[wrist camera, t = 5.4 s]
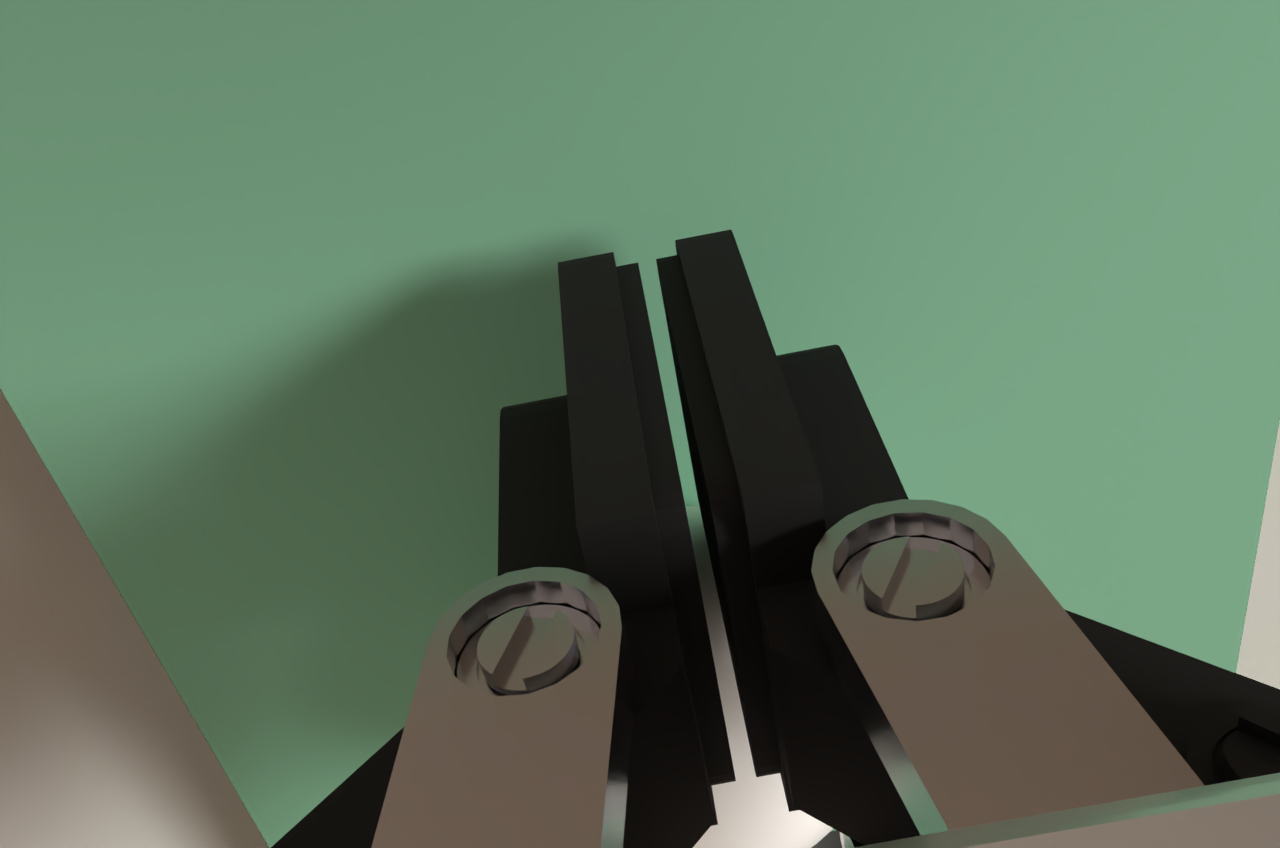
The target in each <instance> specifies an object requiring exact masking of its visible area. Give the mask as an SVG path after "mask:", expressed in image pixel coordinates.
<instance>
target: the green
mask: <svg viewBox="0 0 1280 848" xmlns="http://www.w3.org/2000/svg"><path fill="white" fill-rule="evenodd" d="M725 230H732V232H733V235H734V237H735V240H736V243H737V246H738V249H739V252H740V254H741V257H742V260H743V263H744V266H745V268H746V271H747V274H748V277H749V280H750V283H751V285H752V288H753V291H754V294H755V297H756V299H757V302H758V305H759V308H760V311H761V314H762V316H763V319H764V322H765V325H766V328H767V330H768V333H769V336H770V339H771V342H772V345H773V347H774V350H775V353H776V355H782V354H787V353H792V352H798V351H803V350H808V349H814V348H819V347H824V346H830V345H835V344H836V345H838V346H840V348H841V350H842V351H843V353H844V355H845V357H846V360H847V362H848V364H849V366H850V369H851V371H852V373H853V375H854V378H855V380H856V382H857V384H858V386H859V389H860V391H861V393H862V395H863V398H864V400H865V402H866V404H867V407H868V409H869V411H870V413H871V416H872V418H873V420H874V422H875V425H876V427H877V429H878V431H879V434H880V436H881V438H882V440H883V443H884V445H885V447H886V449H887V452H888V454H889V456H890V458H891V460H892V463H893V465H894V467H895V469H896V472H897V474H898V476H899V478H900V481H901V483H902V485H903V487H904V490H905V492H906V494H907V496H908V499H910V500H934V501H939V502H943V503H948V504H952V505H957V506H961V507H963V508H965V509H967V510H969V511H971V512H973V513H976V514H978V515H980V516H982V517H984V518H986V519H987V520H988V521H990V522H991V523H992V524H993V525H994V526H995V527H996V528H997V529H999V530H1000V531H1001V532H1002V533H1003V534H1004V535H1005V536H1006V537H1007V538H1008V539H1009V541H1010V542H1011V543H1012V544H1013V546H1014V547H1015V548H1016V549H1017V551H1018V552H1019V553H1020V555H1021V556H1022V557H1023V558H1024V560H1025V561H1026V562H1027V563H1028V565H1029V566H1030V567H1031V568H1032V570H1033V571H1034V572H1035V573H1036V575H1037V576H1038V577H1039V578H1040V580H1041V581H1042V582H1043V583H1044V585H1045V586H1046V587H1047V588H1048V590H1049V591H1050V592H1051V593H1052V595H1053V596H1054V597H1055V598H1056V600H1057V601H1058V602H1059V603H1060V605H1061V606H1062V607H1063V608H1064V609H1065V610H1067V611H1070V612H1073V613H1076V614H1078V615H1081V616H1084V617H1086V618H1089V619H1092V620H1094V621H1097V622H1100V623H1102V624H1105V625H1108V626H1110V627H1113V628H1116V629H1118V630H1121V631H1124V632H1126V633H1129V634H1132V635H1135V636H1137V637H1140V638H1143V639H1145V640H1148V641H1151V642H1153V643H1156V644H1159V645H1161V646H1164V647H1167V648H1169V649H1172V650H1175V651H1177V652H1180V653H1183V654H1185V655H1188V656H1191V657H1193V658H1196V659H1199V660H1202V661H1204V662H1207V663H1210V664H1212V665H1215V666H1218V667H1220V668H1223V669H1226V670H1228V671H1231V672H1234V673H1236V668H1237V662H1238V657H1239V651H1240V645H1241V639H1242V634H1243V628H1244V622H1245V616H1246V611H1247V605H1248V599H1249V593H1250V587H1251V582H1252V576H1253V570H1254V564H1255V559H1256V553H1257V547H1258V541H1259V536H1260V530H1261V524H1262V518H1263V513H1264V507H1265V501H1266V495H1267V489H1268V484H1269V478H1270V472H1271V466H1272V461H1273V455H1274V449H1275V443H1276V438H1277V432H1278V426H1279V420H1280V0H0V389H1V391H2V393H3V394H4V396H5V398H6V399H7V401H8V403H9V405H10V406H11V408H12V410H13V411H14V413H15V415H16V416H17V418H18V420H19V422H20V423H21V425H22V427H23V428H24V430H25V432H26V434H27V435H28V437H29V439H30V440H31V442H32V444H33V446H34V447H35V449H36V451H37V452H38V454H39V456H40V457H41V459H42V461H43V463H44V464H45V466H46V468H47V469H48V471H49V473H50V475H51V476H52V478H53V480H54V481H55V483H56V485H57V486H58V488H59V490H60V492H61V493H62V495H63V497H64V498H65V500H66V502H67V504H68V505H69V507H70V509H71V510H72V512H73V514H74V515H75V517H76V519H77V521H78V522H79V524H80V526H81V527H82V529H83V531H84V533H85V534H86V536H87V538H88V539H89V541H90V543H91V544H92V546H93V548H94V550H95V551H96V553H97V555H98V556H99V558H100V560H101V562H102V563H103V565H104V567H105V568H106V570H107V572H108V573H109V575H110V577H111V579H112V580H113V582H114V584H115V585H116V587H117V589H118V591H119V592H120V594H121V596H122V597H123V599H124V601H125V602H126V604H127V606H128V608H129V609H130V611H131V613H132V614H133V616H134V618H135V620H136V621H137V623H138V625H139V626H140V628H141V630H142V631H143V633H144V635H145V637H146V638H147V640H148V642H149V643H150V645H151V647H152V649H153V650H154V652H155V654H156V655H157V657H158V659H159V660H160V662H161V664H162V666H163V667H164V669H165V671H166V672H167V674H168V676H169V678H170V679H171V681H172V683H173V684H174V686H175V688H176V689H177V691H178V693H179V695H180V696H181V698H182V700H183V701H184V703H185V705H186V707H187V708H188V710H189V712H190V713H191V715H192V717H193V719H194V720H195V722H196V724H197V725H198V727H199V729H200V730H201V732H202V734H203V736H204V737H205V739H206V741H207V742H208V744H209V746H210V748H211V749H212V751H213V753H214V754H215V756H216V758H217V759H218V761H219V763H220V765H221V766H222V768H223V770H224V771H225V773H226V775H227V777H228V778H229V780H230V782H231V783H232V785H233V787H234V788H235V790H236V792H237V794H238V795H239V797H240V799H241V800H242V802H243V804H244V806H245V807H246V809H247V811H248V812H249V814H250V816H251V817H252V819H253V821H254V823H255V824H256V826H257V828H258V829H259V831H260V833H261V835H262V836H263V838H264V840H265V841H266V843H267V845H268V846H269V848H271V847H272V846H273V845H274V844H275V843H276V842H277V841H279V840H280V839H281V838H282V837H283V836H284V835H285V834H286V833H287V832H289V831H290V830H291V829H292V828H293V827H294V826H295V825H296V824H297V823H298V822H300V821H301V820H302V819H303V818H304V817H305V816H306V815H307V814H308V813H309V812H311V811H312V810H313V809H314V808H315V807H316V806H317V805H318V804H319V803H321V802H322V801H323V800H324V799H325V798H326V797H327V796H328V795H329V794H330V793H332V792H333V791H334V790H335V789H336V788H337V787H338V786H339V785H340V784H341V783H343V782H344V781H345V780H346V779H347V778H348V777H349V776H350V775H351V774H353V773H354V772H355V771H356V770H357V769H358V768H359V767H360V766H361V765H362V764H364V763H365V762H366V761H367V760H368V759H369V758H370V757H371V756H372V755H373V754H375V753H376V752H377V751H378V750H379V749H380V748H381V747H382V746H383V745H385V744H386V743H387V742H388V741H389V740H390V739H391V738H392V737H393V736H394V735H396V734H397V733H398V732H399V731H400V730H401V729H402V728H403V727H404V726H405V723H406V720H407V716H408V712H409V709H410V705H411V701H412V698H413V694H414V690H415V687H416V683H417V680H418V676H419V672H420V669H421V665H422V661H423V658H424V654H425V650H426V647H427V643H428V641H429V639H430V637H431V634H432V632H433V630H434V628H435V626H436V624H437V622H438V620H439V619H440V618H441V617H442V616H443V614H444V613H445V612H446V611H447V610H448V609H449V608H450V607H451V606H452V604H453V603H454V602H455V601H456V600H457V599H459V598H460V597H462V596H463V595H465V594H466V593H467V592H469V591H470V590H472V589H473V588H475V587H476V586H478V585H479V584H481V583H483V582H486V581H488V580H491V579H493V578H495V577H498V513H499V438H500V412H501V409H502V408H503V407H506V406H511V405H516V404H522V403H527V402H532V401H538V400H543V399H548V398H553V397H559V396H564V395H567V389H566V375H565V361H564V347H563V333H562V319H561V305H560V291H559V277H558V262H563V261H568V260H573V259H579V258H584V257H589V256H594V255H600V254H605V253H610V252H613V253H614V257H615V262H616V267H617V266H622V265H627V264H633V263H638V265H639V270H640V275H641V280H642V285H643V291H644V296H645V301H646V306H647V311H648V316H649V321H650V327H651V332H652V337H653V342H654V347H655V352H656V357H657V363H658V368H659V373H660V378H661V383H662V388H663V393H664V399H665V404H666V409H667V414H668V419H669V424H670V430H671V435H672V440H673V445H674V450H675V455H676V460H677V466H678V471H679V476H680V481H681V486H682V491H683V497H684V502H685V506H699V502H698V497H697V491H696V486H695V480H694V475H693V469H692V463H691V458H690V452H689V446H688V441H687V435H686V429H685V423H684V418H683V412H682V406H681V401H680V395H679V389H678V383H677V378H676V372H675V366H674V361H673V355H672V349H671V344H670V338H669V332H668V326H667V321H666V315H665V309H664V304H663V298H662V292H661V286H660V281H659V275H658V269H657V263H656V259H659V258H664V257H669V256H675V255H677V253H676V245H675V240H678V239H683V238H689V237H694V236H699V235H704V234H710V233H715V232H720V231H725ZM811 848H842V844H841V840H840V832H839V831H837V830H835V829H832V830H831V831H830V832H829V833H828V834H827V835H826V836H825V837H824V838H823V839H822V840H820V841H819V842H818V843H817V844H816V845H814V846H813V847H811Z"/></svg>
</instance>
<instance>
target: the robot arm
mask: <svg viewBox="0 0 1280 848" xmlns="http://www.w3.org/2000/svg"><path fill="white" fill-rule="evenodd" d="M675 245H676V253H677V255H675V256H669V257H664V258H659V259H656V263H657V269H658V275H659V281H660V286H661V292H662V298H663V304H664V309H665V315H666V321H667V326H668V332H669V338H670V344H671V349H672V355H673V361H674V366H675V372H676V378H677V383H678V389H679V395H680V401H681V406H682V412H683V418H684V423H685V429H686V435H687V441H688V446H689V452H690V458H691V463H692V469H693V475H694V480H695V486H696V491H697V497H698V502H699V507H700V512H701V517H702V522H703V526H704V531H705V536H706V541H707V545H708V550H709V555H710V560H711V564H712V569H713V574H714V579H715V584H716V588H717V593H718V598H719V603H720V607H721V612H722V617H723V622H724V626H725V631H726V636H727V641H728V646H729V650H730V655H731V660H732V665H733V669H734V674H735V679H736V684H737V688H738V693H739V698H740V703H741V708H742V712H743V717H744V722H745V727H746V731H747V736H748V741H749V746H750V750H751V755H752V760H753V765H754V769H755V774H756V777H761V776H767V775H772V774H778V773H780V775H781V779H782V783H783V788H784V792H785V796H786V801H787V805H788V809H789V812H791V811H796V810H801V811H803V812H804V813H806V814H808V815H810V816H812V817H814V818H815V819H817V820H819V821H821V822H823V823H824V824H826V825H828V826H830V827H832V828H833V829H835V830H837V831H839V832H840V840H841V844H842V848H1280V690H1279V689H1277V688H1274V687H1271V686H1269V685H1266V684H1263V683H1261V682H1258V681H1255V680H1252V679H1250V678H1247V677H1244V676H1242V675H1239V674H1236V673H1234V672H1231V671H1228V670H1226V669H1223V668H1220V667H1218V666H1215V665H1212V664H1210V663H1207V662H1204V661H1202V660H1199V659H1196V658H1193V657H1191V656H1188V655H1185V654H1183V653H1180V652H1177V651H1175V650H1172V649H1169V648H1167V647H1164V646H1161V645H1159V644H1156V643H1153V642H1151V641H1148V640H1145V639H1143V638H1140V637H1137V636H1135V635H1132V634H1129V633H1126V632H1124V631H1121V630H1118V629H1116V628H1113V627H1110V626H1108V625H1105V624H1102V623H1100V622H1097V621H1094V620H1092V619H1089V618H1086V617H1084V616H1081V615H1078V614H1076V613H1073V612H1070V611H1067V610H1065V609H1064V608H1063V607H1062V606H1061V605H1060V603H1059V602H1058V601H1057V600H1056V598H1055V597H1054V596H1053V595H1052V593H1051V592H1050V591H1049V590H1048V588H1047V587H1046V586H1045V585H1044V583H1043V582H1042V581H1041V580H1040V578H1039V577H1038V576H1037V575H1036V573H1035V572H1034V571H1033V570H1032V568H1031V567H1030V566H1029V565H1028V563H1027V562H1026V561H1025V560H1024V558H1023V557H1022V556H1021V555H1020V553H1019V552H1018V551H1017V549H1016V548H1015V547H1014V546H1013V544H1012V543H1011V542H1010V541H1009V539H1008V538H1007V537H1006V536H1005V535H1004V534H1003V533H1002V532H1001V531H1000V530H999V529H997V528H996V527H995V526H994V525H993V524H992V523H991V522H990V521H988V520H987V519H986V518H984V517H982V516H980V515H978V514H976V513H973V512H971V511H969V510H967V509H965V508H963V507H961V506H957V505H952V504H948V503H943V502H939V501H934V500H910V499H908V496H907V494H906V492H905V490H904V487H903V485H902V483H901V481H900V478H899V476H898V474H897V472H896V469H895V467H894V465H893V463H892V460H891V458H890V456H889V454H888V452H887V449H886V447H885V445H884V443H883V440H882V438H881V436H880V434H879V431H878V429H877V427H876V425H875V422H874V420H873V418H872V416H871V413H870V411H869V409H868V407H867V404H866V402H865V400H864V398H863V395H862V393H861V391H860V389H859V386H858V384H857V382H856V380H855V378H854V375H853V373H852V371H851V369H850V366H849V364H848V362H847V360H846V357H845V355H844V353H843V351H842V350H841V348H840V346H838V345H836V344H835V345H830V346H824V347H819V348H814V349H808V350H803V351H798V352H792V353H787V354H782V355H776V353H775V350H774V347H773V345H772V342H771V339H770V336H769V333H768V330H767V328H766V325H765V322H764V319H763V316H762V314H761V311H760V308H759V305H758V302H757V299H756V297H755V294H754V291H753V288H752V285H751V283H750V280H749V277H748V274H747V271H746V268H745V266H744V263H743V260H742V257H741V254H740V252H739V249H738V246H737V243H736V240H735V237H734V235H733V232H732V230H725V231H720V232H715V233H710V234H704V235H699V236H694V237H689V238H683V239H678V240H675ZM558 277H559V291H560V305H561V319H562V333H563V347H564V361H565V375H566V389H567V395H564V396H559V397H553V398H548V399H543V400H538V401H532V402H527V403H522V404H516V405H511V406H506V407H503V408H502V409H501V412H500V438H499V513H498V577H495V578H493V579H491V580H488V581H486V582H483V583H481V584H479V585H478V586H476V587H475V588H473V589H472V590H470V591H469V592H467V593H466V594H465V595H463V596H462V597H460V598H459V599H457V600H456V601H455V602H454V603H453V604H452V606H451V607H450V608H449V609H448V610H447V611H446V612H445V613H444V614H443V616H442V617H441V618H440V619H439V620H438V622H437V624H436V626H435V628H434V630H433V632H432V634H431V637H430V639H429V641H428V643H427V647H426V650H425V654H424V658H423V661H422V665H421V669H420V672H419V676H418V680H417V683H416V687H415V690H414V694H413V698H412V701H411V705H410V709H409V712H408V716H407V720H406V723H405V726H404V727H403V728H402V729H401V730H400V731H399V732H398V733H397V734H396V735H394V736H393V737H392V738H391V739H390V740H389V741H388V742H387V743H386V744H385V745H383V746H382V747H381V748H380V749H379V750H378V751H377V752H376V753H375V754H373V755H372V756H371V757H370V758H369V759H368V760H367V761H366V762H365V763H364V764H362V765H361V766H360V767H359V768H358V769H357V770H356V771H355V772H354V773H353V774H351V775H350V776H349V777H348V778H347V779H346V780H345V781H344V782H343V783H341V784H340V785H339V786H338V787H337V788H336V789H335V790H334V791H333V792H332V793H330V794H329V795H328V796H327V797H326V798H325V799H324V800H323V801H322V802H321V803H319V804H318V805H317V806H316V807H315V808H314V809H313V810H312V811H311V812H309V813H308V814H307V815H306V816H305V817H304V818H303V819H302V820H301V821H300V822H298V823H297V824H296V825H295V826H294V827H293V828H292V829H291V830H290V831H289V832H287V833H286V834H285V835H284V836H283V837H282V838H281V839H280V840H279V841H277V842H276V843H275V844H274V845H273V846H272V847H271V848H693V847H694V846H695V844H696V843H697V842H698V841H699V840H700V838H701V837H702V836H703V835H704V834H705V832H706V831H707V830H708V829H709V828H710V826H713V825H718V821H717V815H716V809H715V804H714V798H713V792H712V785H717V784H723V783H728V782H734V781H736V779H735V773H734V768H733V762H732V757H731V751H730V746H729V740H728V735H727V730H726V724H725V719H724V713H723V708H722V702H721V697H720V691H719V686H718V681H717V675H716V670H715V664H714V659H713V653H712V648H711V643H710V637H709V632H708V626H707V621H706V615H705V610H704V604H703V599H702V594H701V588H700V583H699V577H698V572H697V566H696V561H695V555H694V550H693V545H692V539H691V534H690V528H689V523H688V518H687V512H686V507H685V502H684V497H683V491H682V486H681V481H680V476H679V471H678V466H677V460H676V455H675V450H674V445H673V440H672V435H671V430H670V424H669V419H668V414H667V409H666V404H665V399H664V393H663V388H662V383H661V378H660V373H659V368H658V363H657V357H656V352H655V347H654V342H653V337H652V332H651V327H650V321H649V316H648V311H647V306H646V301H645V296H644V291H643V285H642V280H641V275H640V270H639V265H638V263H633V264H627V265H622V266H617V267H616V262H615V257H614V253H613V252H610V253H605V254H600V255H594V256H589V257H584V258H579V259H573V260H568V261H563V262H558Z"/></svg>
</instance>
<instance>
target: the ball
mask: <svg viewBox="0 0 1280 848" xmlns="http://www.w3.org/2000/svg"><path fill="white" fill-rule="evenodd" d="M685 507H686V512H687V518H688V523H689V528H690V534H691V539H692V545H693V550H694V555H695V561H696V566H697V572H698V577H699V583H700V588H701V594H702V599H703V604H704V610H705V615H706V621H707V626H708V632H709V637H710V643H711V648H712V653H713V659H714V664H715V670H716V675H717V681H718V686H719V691H720V697H721V702H722V708H723V713H724V719H725V724H726V730H727V735H728V740H729V746H730V751H731V757H732V762H733V768H734V773H735V779H736V781H734V782H728V783H723V784H717V785H712V792H713V798H714V804H715V809H716V815H717V821H718V825H713V826H710V828H709V829H708V830H707V831H706V832H705V834H704V835H703V836H702V837H701V838H700V840H699V841H698V842H697V843H696V844H695V846H694V847H693V848H811V847H813V846H814V845H816V844H817V843H818V842H819V841H820V840H822V839H823V838H824V837H825V836H826V835H827V834H828V833H829V832H830V831H831V830H832V829H833V828H832V827H830V826H828V825H826V824H824V823H823V822H821V821H819V820H817V819H815V818H814V817H812V816H810V815H808V814H806V813H804V812H803V811H801V810H796V811H791V812H789V809H788V805H787V801H786V796H785V792H784V788H783V783H782V779H781V775H780V773H778V774H772V775H767V776H761V777H756V774H755V769H754V765H753V760H752V755H751V750H750V746H749V741H748V736H747V731H746V727H745V722H744V717H743V712H742V708H741V703H740V698H739V693H738V688H737V684H736V679H735V674H734V669H733V665H732V660H731V655H730V650H729V646H728V641H727V636H726V631H725V626H724V622H723V617H722V612H721V607H720V603H719V598H718V593H717V588H716V584H715V579H714V574H713V569H712V564H711V560H710V555H709V550H708V545H707V541H706V536H705V531H704V526H703V522H702V517H701V512H700V507H699V506H685Z"/></svg>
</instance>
